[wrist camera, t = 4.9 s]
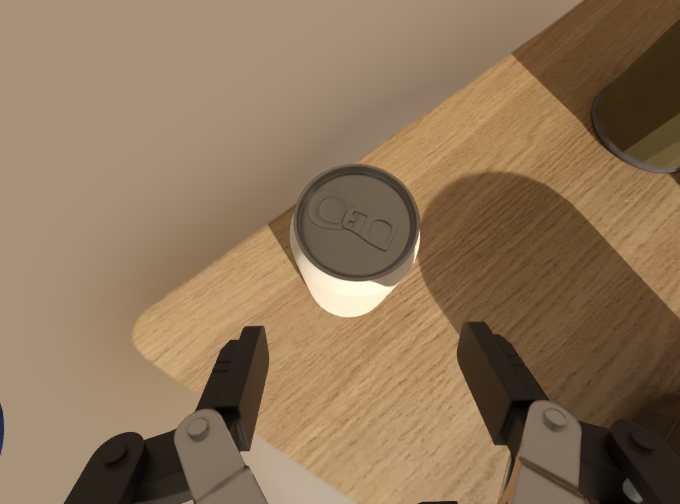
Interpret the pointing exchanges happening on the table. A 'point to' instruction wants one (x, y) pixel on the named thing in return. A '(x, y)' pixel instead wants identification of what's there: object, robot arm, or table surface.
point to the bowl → (663, 419)
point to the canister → (645, 108)
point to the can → (354, 237)
